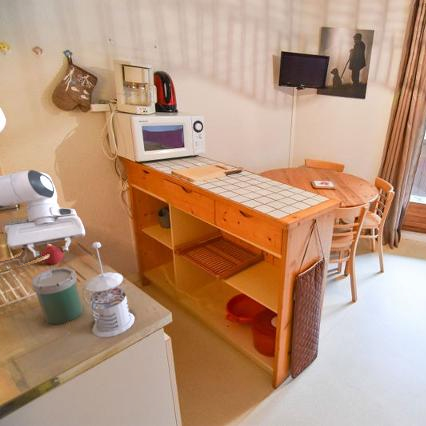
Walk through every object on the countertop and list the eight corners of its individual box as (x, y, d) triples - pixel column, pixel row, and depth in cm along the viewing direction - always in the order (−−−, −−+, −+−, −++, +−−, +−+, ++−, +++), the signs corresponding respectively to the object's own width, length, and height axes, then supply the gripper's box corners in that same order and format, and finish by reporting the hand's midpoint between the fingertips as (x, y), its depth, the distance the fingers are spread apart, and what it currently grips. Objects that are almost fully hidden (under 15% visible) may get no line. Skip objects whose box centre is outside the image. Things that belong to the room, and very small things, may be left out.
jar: (38, 328, 82) (25, 289, 77) (49, 306, 90) (37, 270, 85) (80, 320, 86) (70, 283, 81) (87, 300, 93) (78, 264, 89)
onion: (66, 258, 112) (60, 238, 109) (65, 266, 108) (59, 245, 105) (45, 262, 109) (38, 242, 106) (43, 270, 105) (36, 249, 101)
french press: (115, 340, 81) (96, 256, 71) (76, 331, 82) (52, 247, 73) (142, 315, 89) (128, 236, 80) (107, 307, 91) (89, 229, 82)
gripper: (0, 219, 101) (6, 259, 98) (79, 208, 113) (87, 244, 110) (6, 226, 106) (12, 265, 103) (81, 215, 118) (89, 249, 114)
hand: (52, 254), depth 106 cm, fingers open, 6 cm apart
